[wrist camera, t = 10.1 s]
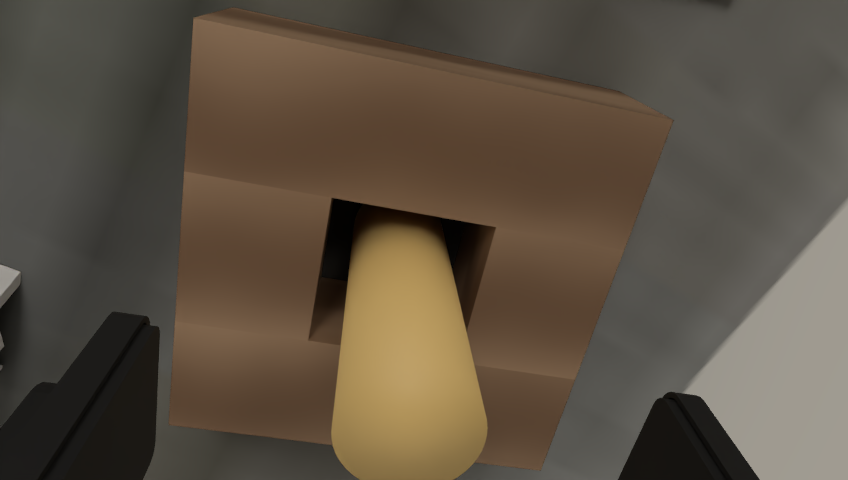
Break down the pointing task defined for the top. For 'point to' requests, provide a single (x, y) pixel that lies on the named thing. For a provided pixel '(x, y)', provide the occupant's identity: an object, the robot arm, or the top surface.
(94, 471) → the robot arm
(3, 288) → the white plastic device case
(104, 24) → the top surface
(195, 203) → the hole block
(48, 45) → the top surface
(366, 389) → the peg
